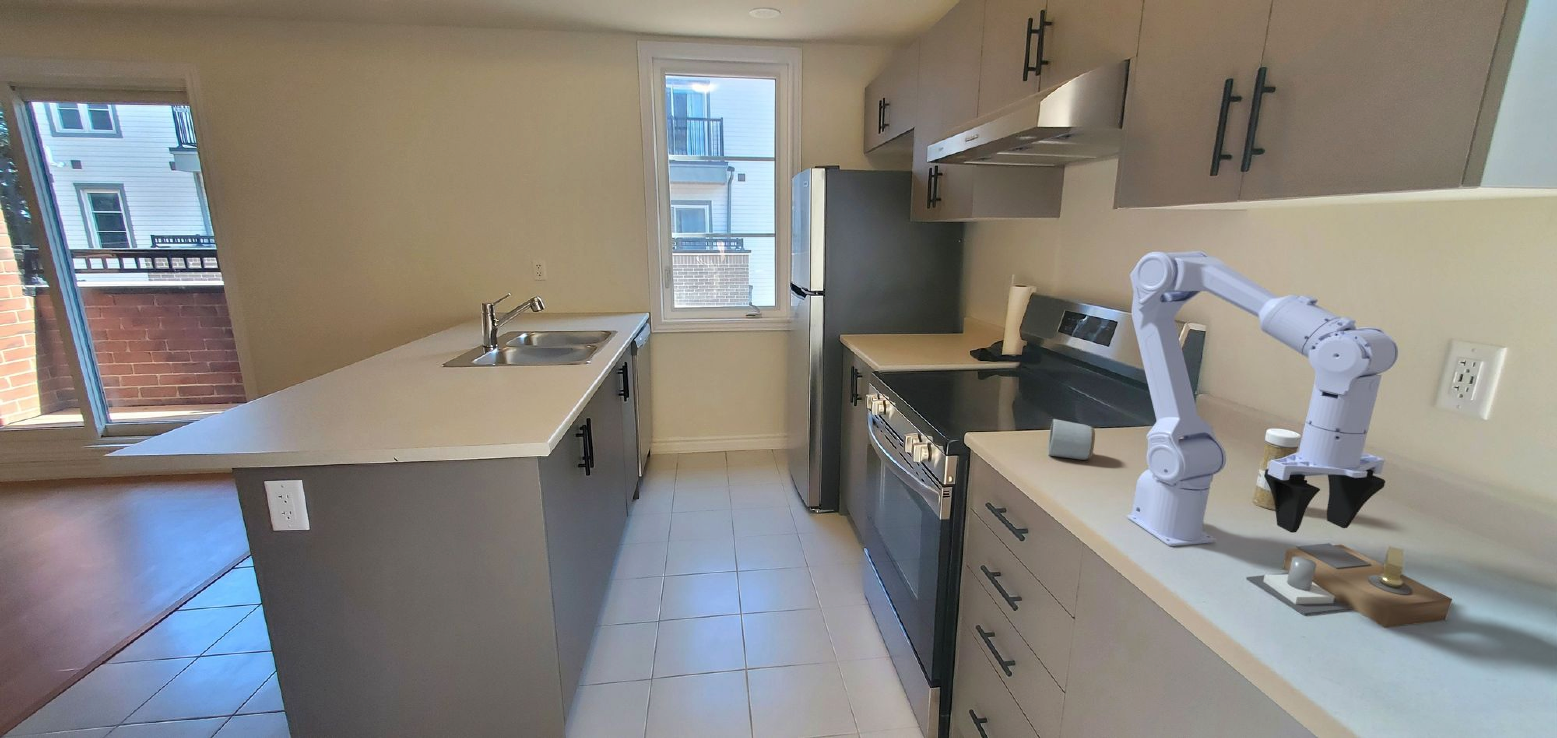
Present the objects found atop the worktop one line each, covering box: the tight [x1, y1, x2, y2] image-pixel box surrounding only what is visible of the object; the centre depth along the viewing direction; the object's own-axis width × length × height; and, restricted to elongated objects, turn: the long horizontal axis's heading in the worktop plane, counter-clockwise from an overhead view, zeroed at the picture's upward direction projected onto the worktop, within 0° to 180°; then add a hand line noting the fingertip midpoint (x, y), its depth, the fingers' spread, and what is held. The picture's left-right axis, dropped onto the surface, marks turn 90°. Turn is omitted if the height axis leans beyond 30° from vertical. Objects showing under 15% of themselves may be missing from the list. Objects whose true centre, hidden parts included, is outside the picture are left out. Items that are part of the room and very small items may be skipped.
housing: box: [1282, 542, 1453, 628], centre depth 80 cm, size 13×9×3 cm
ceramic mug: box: [1047, 418, 1096, 461], centre depth 127 cm, size 11×8×8 cm
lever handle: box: [1379, 545, 1404, 588], centre depth 78 cm, size 7×2×3 cm, turn 134°
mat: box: [1245, 572, 1352, 616], centre depth 80 cm, size 8×7×1 cm
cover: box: [1263, 557, 1335, 604], centre depth 79 cm, size 5×5×4 cm
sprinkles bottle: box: [1252, 428, 1302, 511], centre depth 104 cm, size 5×5×13 cm
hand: (1311, 526), depth 78 cm, fingers open, 7 cm apart
